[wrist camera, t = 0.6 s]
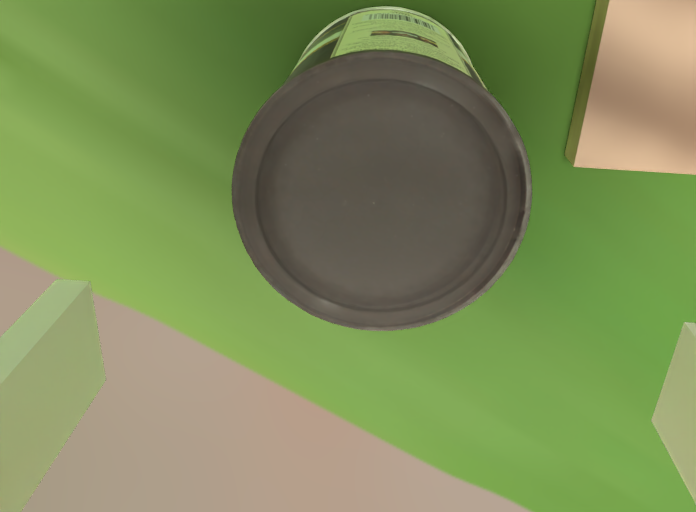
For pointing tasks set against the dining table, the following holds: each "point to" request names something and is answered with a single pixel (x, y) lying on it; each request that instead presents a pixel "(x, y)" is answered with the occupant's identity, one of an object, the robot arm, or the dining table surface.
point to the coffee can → (382, 176)
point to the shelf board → (637, 89)
